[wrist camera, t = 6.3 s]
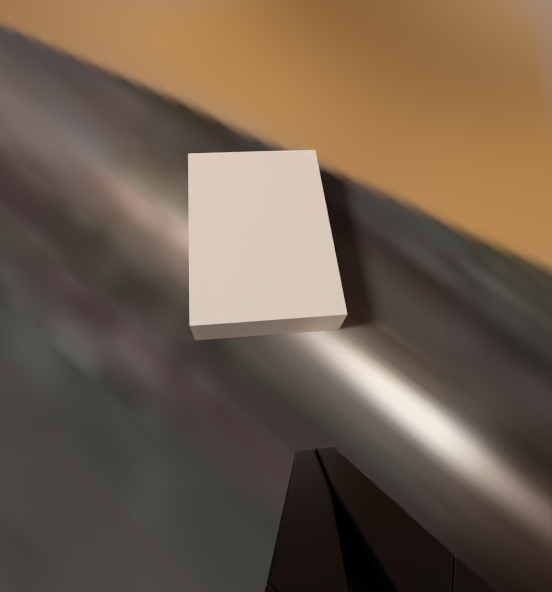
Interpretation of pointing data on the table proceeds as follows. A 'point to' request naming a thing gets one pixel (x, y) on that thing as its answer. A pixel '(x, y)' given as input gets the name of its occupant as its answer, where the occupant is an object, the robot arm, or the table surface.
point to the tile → (260, 246)
